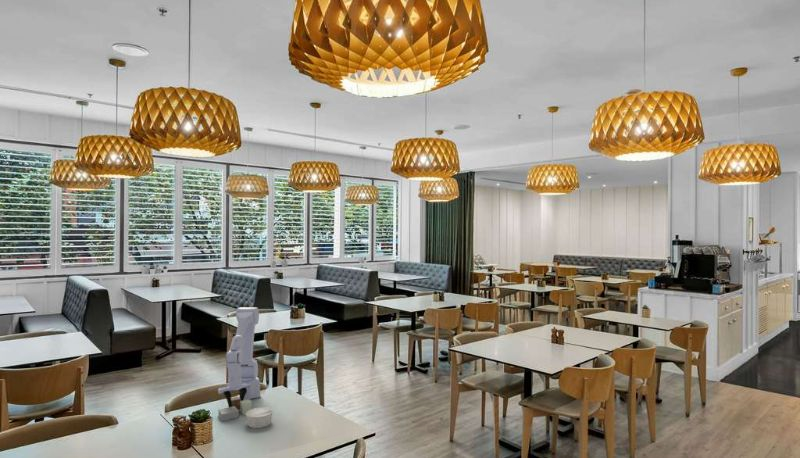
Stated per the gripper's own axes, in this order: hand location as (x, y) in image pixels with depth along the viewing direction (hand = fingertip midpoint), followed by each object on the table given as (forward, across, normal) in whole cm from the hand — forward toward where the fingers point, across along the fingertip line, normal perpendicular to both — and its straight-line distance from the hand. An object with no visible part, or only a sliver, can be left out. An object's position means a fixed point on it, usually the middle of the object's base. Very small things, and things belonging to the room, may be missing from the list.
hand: (235, 406), depth 227 cm
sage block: (+2, +3, -7) cm, 8 cm away
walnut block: (+2, 0, 0) cm, 2 cm away
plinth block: (+1, -5, -8) cm, 10 cm away
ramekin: (+2, +4, -24) cm, 24 cm away
